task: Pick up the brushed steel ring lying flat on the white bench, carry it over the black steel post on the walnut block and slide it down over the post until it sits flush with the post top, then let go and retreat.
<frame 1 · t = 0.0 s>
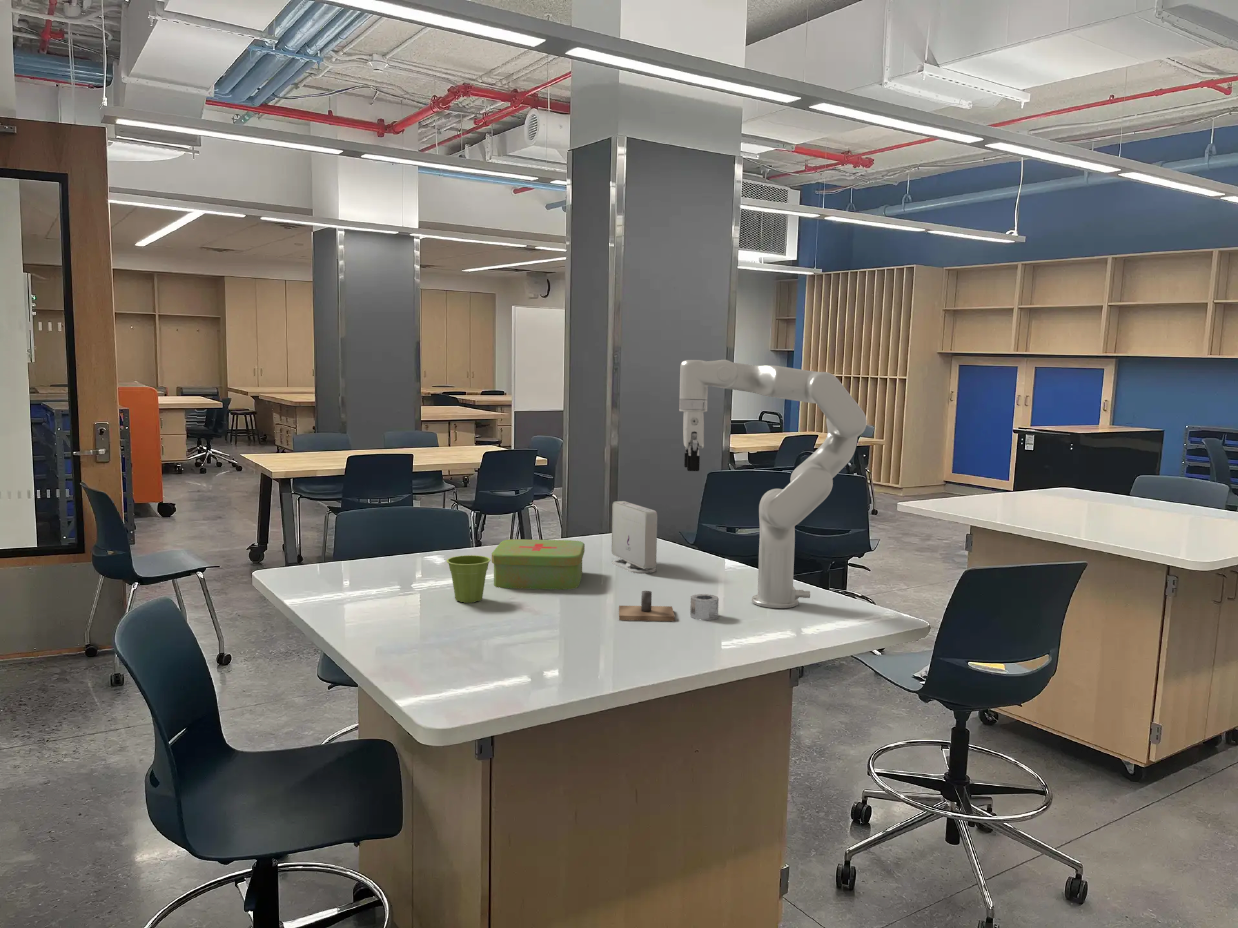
hand: (691, 469, 243), 37 cm above the table, tool pointing down, fingers open, 9 cm apart
plant pot: (468, 600, 244), on the table
steel ring: (704, 616, 232), on the table
network device: (633, 567, 292), on the table
post block: (646, 615, 232), on the table
first aid kit: (539, 580, 271), on the table
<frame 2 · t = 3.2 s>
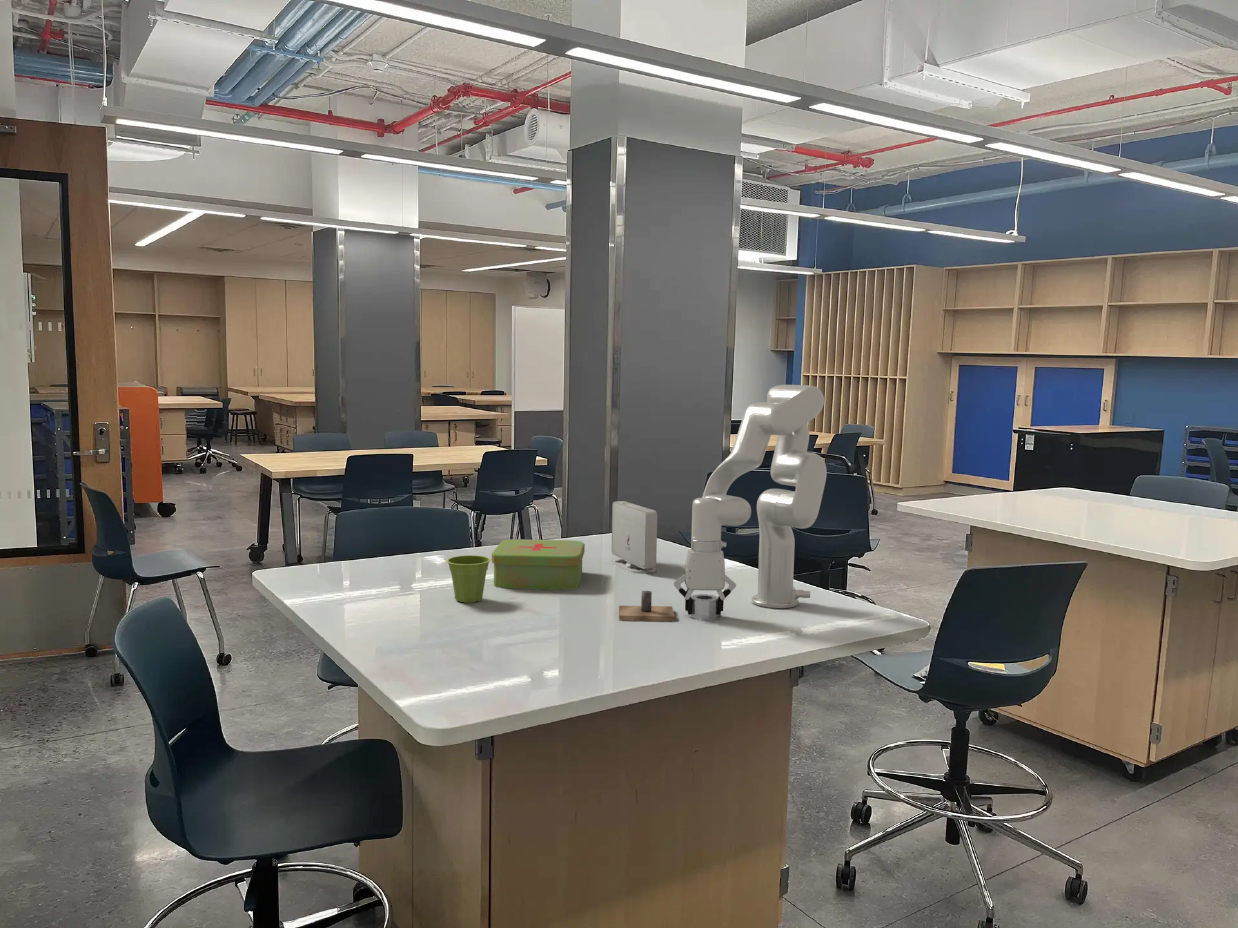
hand: (704, 613, 232), 1 cm above the table, tool pointing down, fingers closed on steel ring, 7 cm apart
steel ring: (703, 616, 232), on the table, touching gripper
everything else where it was.
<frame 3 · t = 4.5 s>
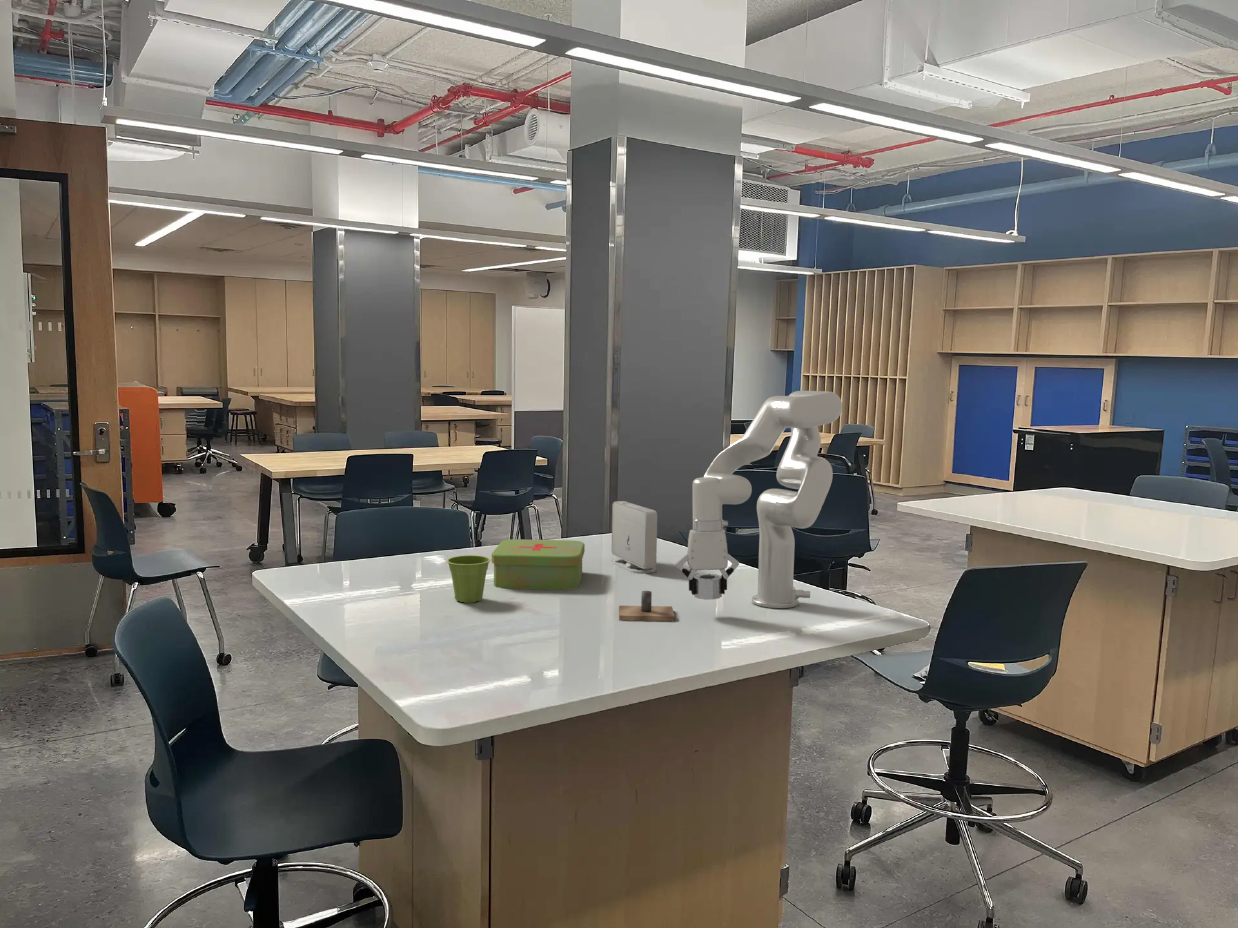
hand: (707, 592, 232), 6 cm above the table, tool pointing down, fingers closed on steel ring, 7 cm apart
steel ring: (707, 595, 232), point 5 cm above the table, touching gripper
everything else where it was.
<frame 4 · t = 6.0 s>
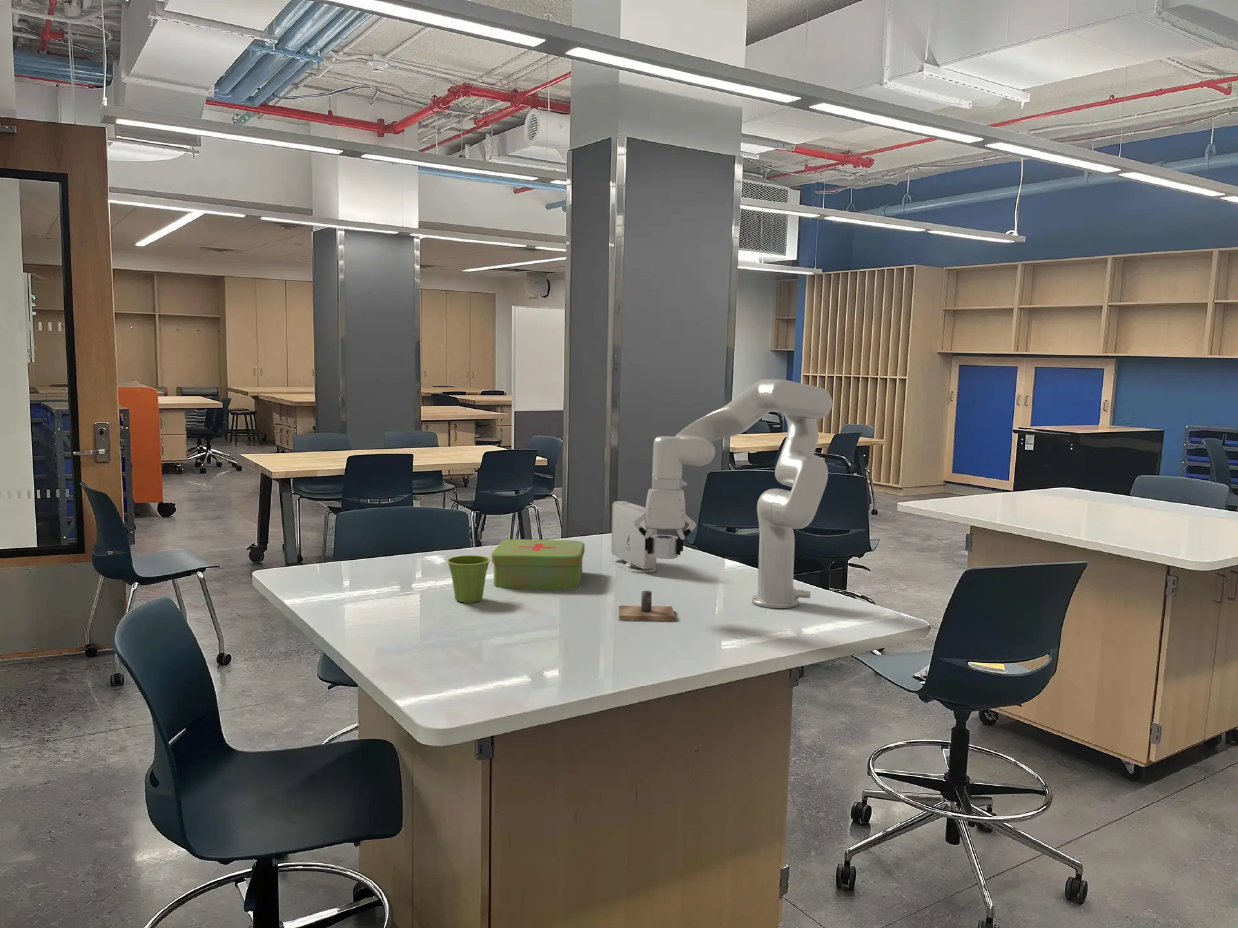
hand: (663, 553, 230), 16 cm above the table, tool pointing down, fingers closed on steel ring, 7 cm apart
steel ring: (663, 556, 230), point 16 cm above the table, touching gripper
everything else where it was.
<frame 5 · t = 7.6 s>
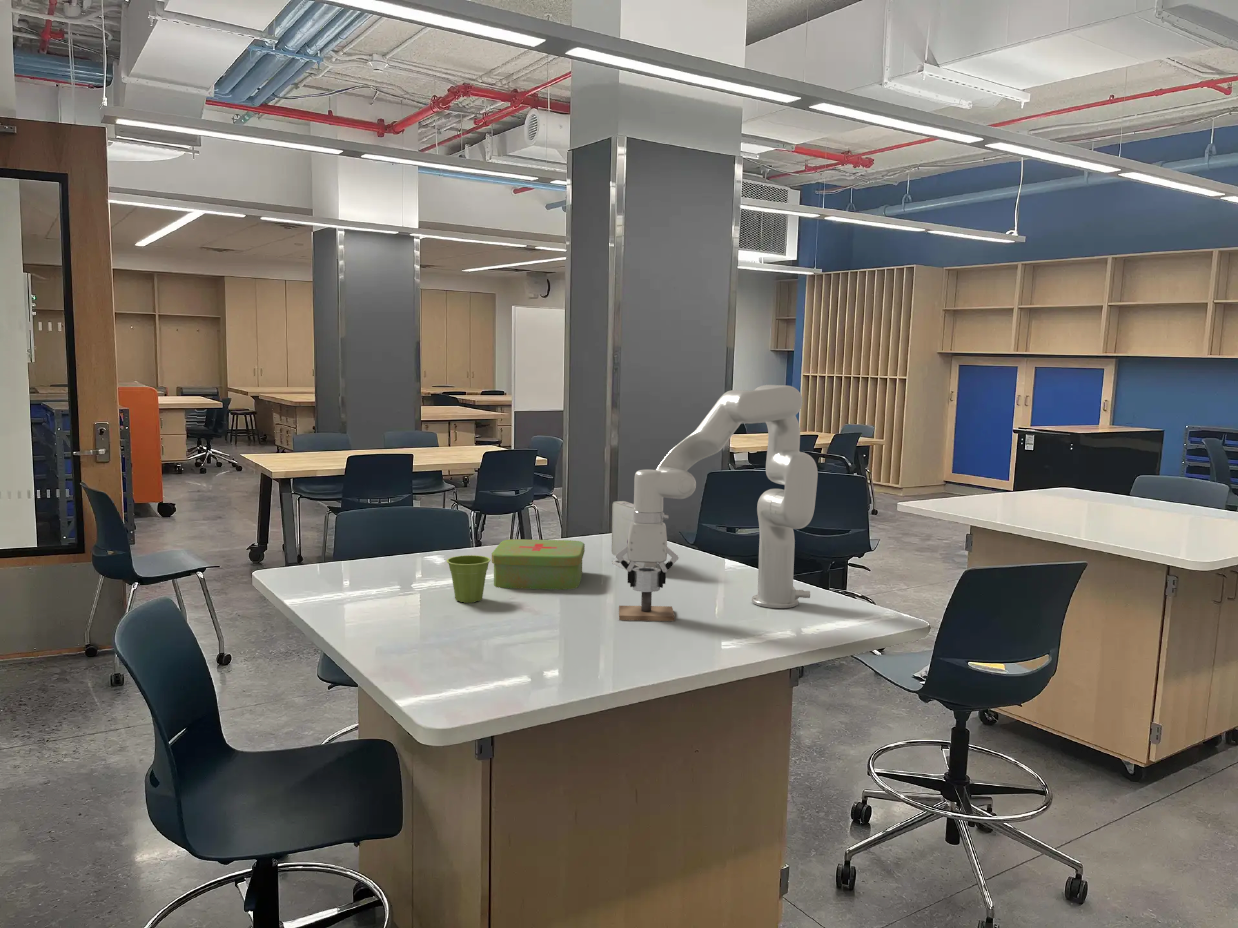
hand: (646, 585, 231), 8 cm above the table, tool pointing down, fingers closed on steel ring, 7 cm apart
steel ring: (646, 588, 231), point 7 cm above the table, touching gripper
everything else where it was.
when the fingers open (3 cm above the table, at t = 9.0 s): steel ring drops 1 cm, resting on post block.
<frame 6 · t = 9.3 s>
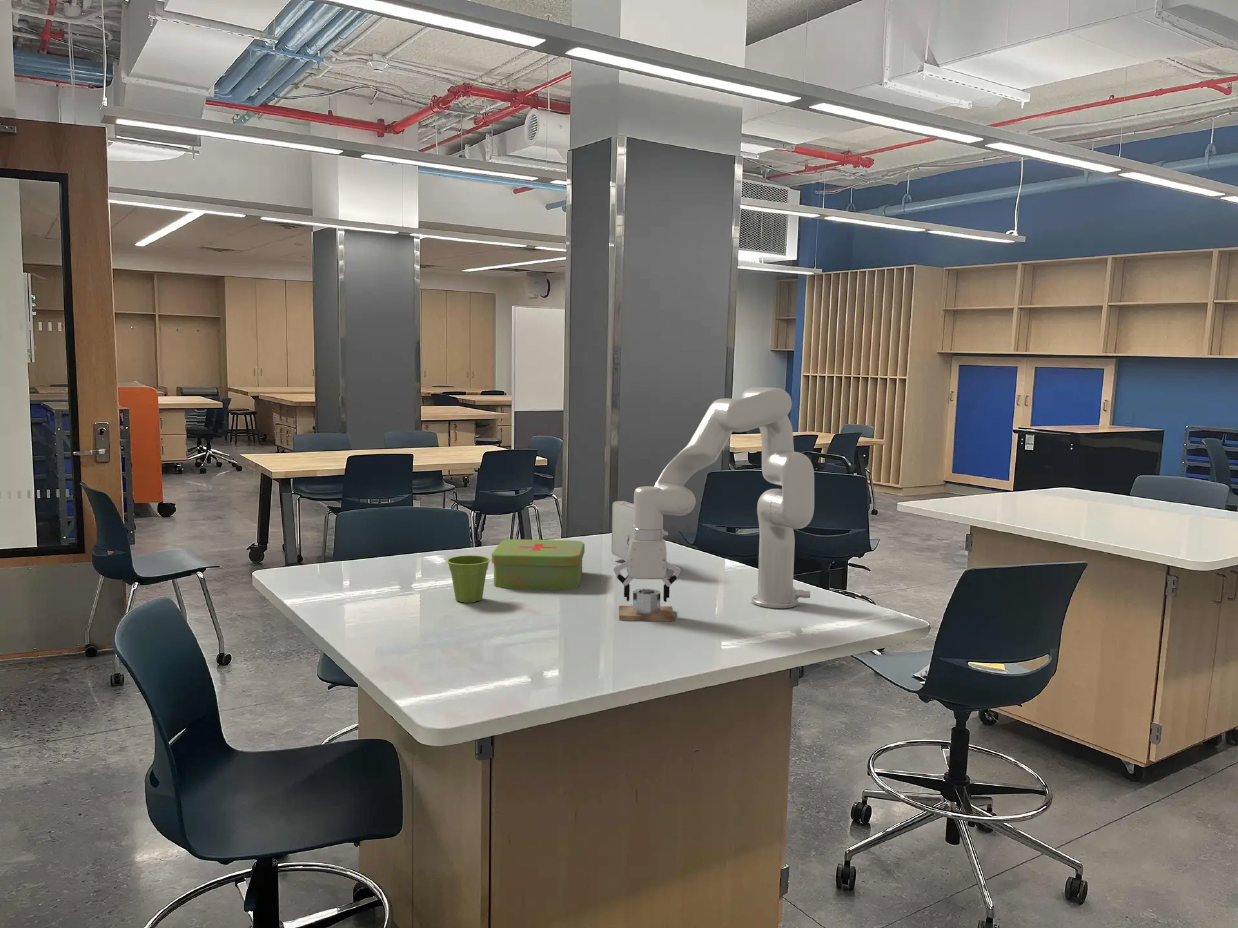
hand: (646, 600, 231), 4 cm above the table, tool pointing down, fingers open, 9 cm apart
steel ring: (646, 610, 232), point 1 cm above the table, touching post block
everything else where it was.
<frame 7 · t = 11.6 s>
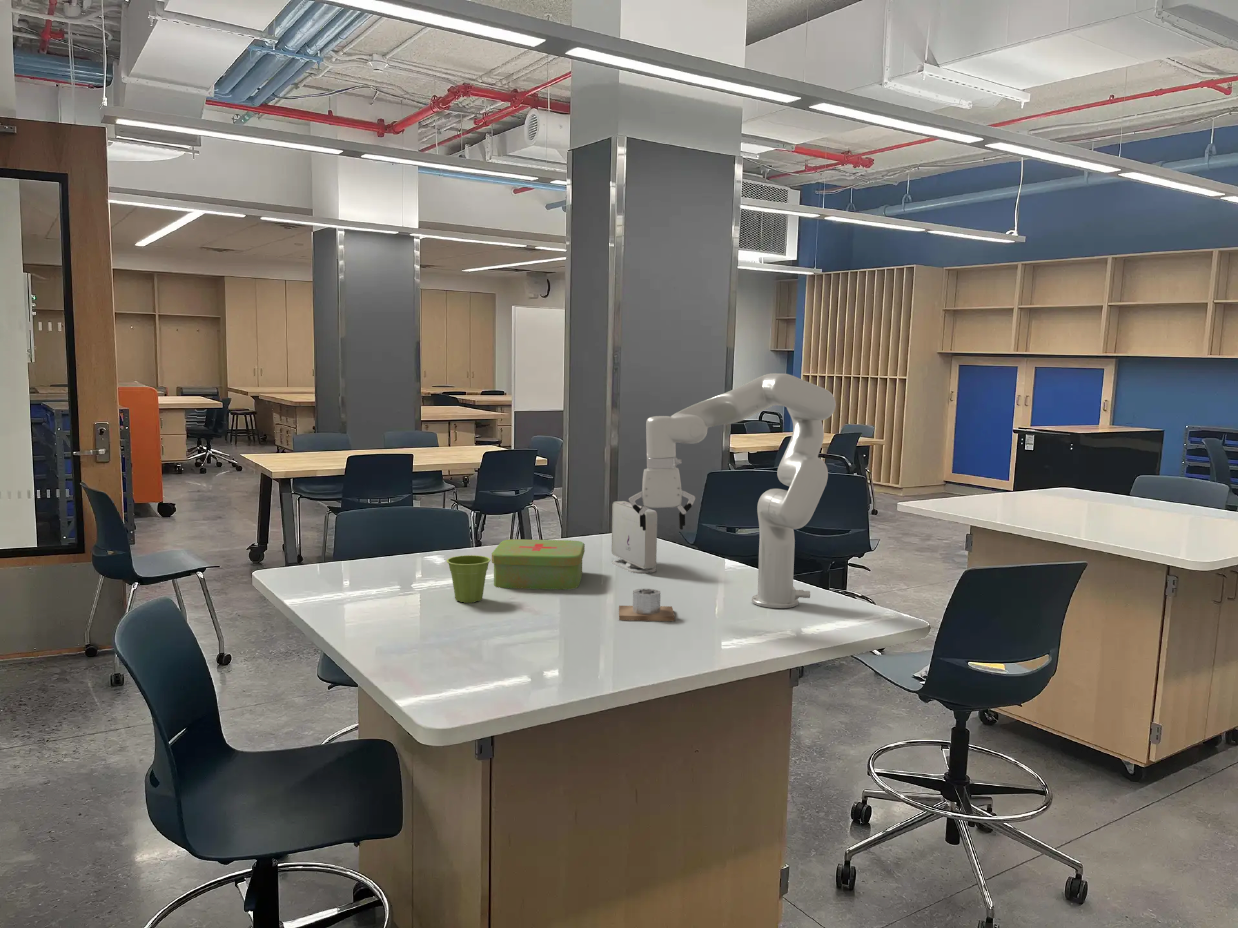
hand: (662, 529, 234), 22 cm above the table, tool pointing down, fingers open, 9 cm apart
nothing on the table moved.
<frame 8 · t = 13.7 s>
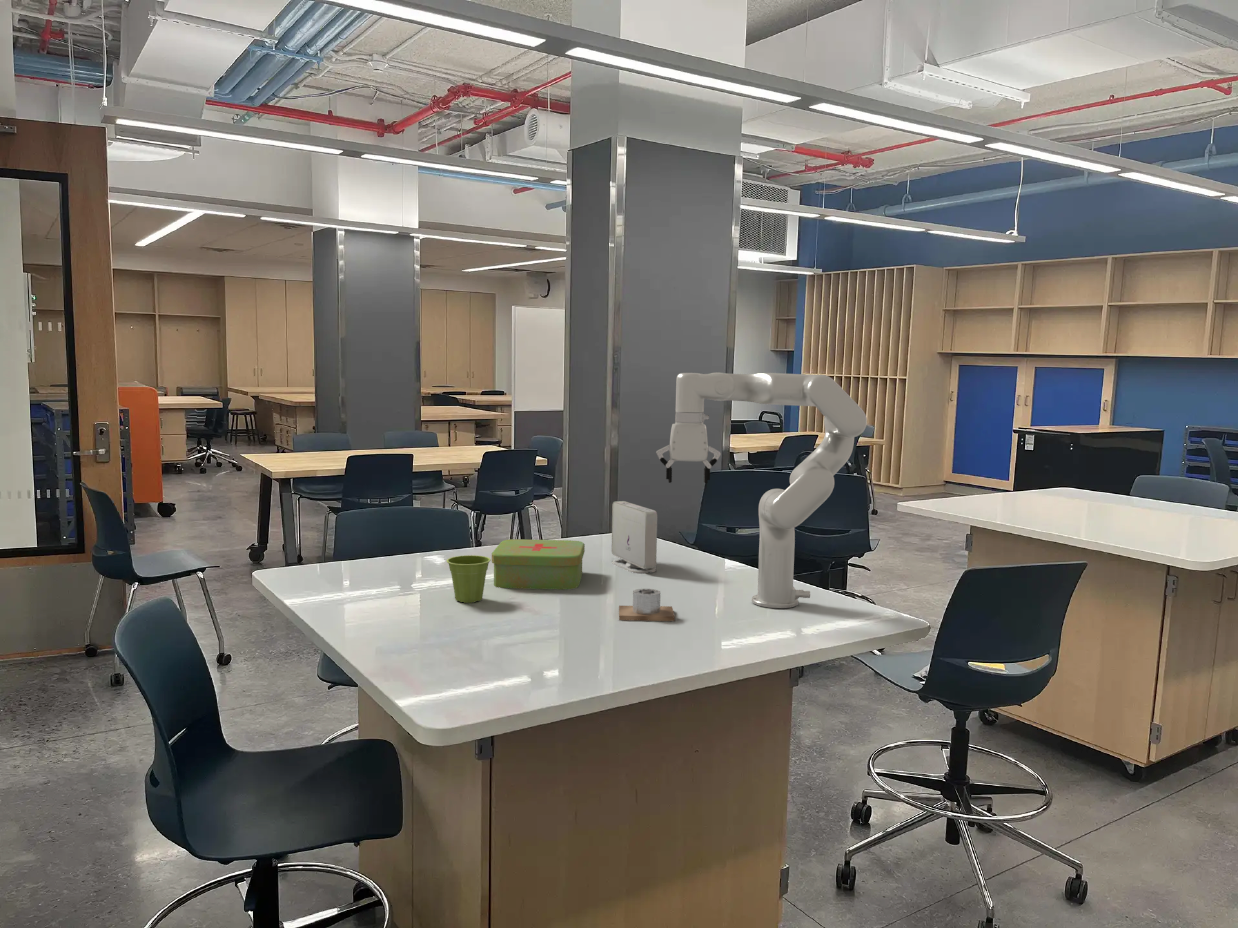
hand: (687, 482, 242), 33 cm above the table, tool pointing down, fingers open, 9 cm apart
nothing on the table moved.
at the end: steel ring 0.0 cm from the post block (horizontally); steel ring point 1.2 cm above the table; steel ring tilted 0° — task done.
